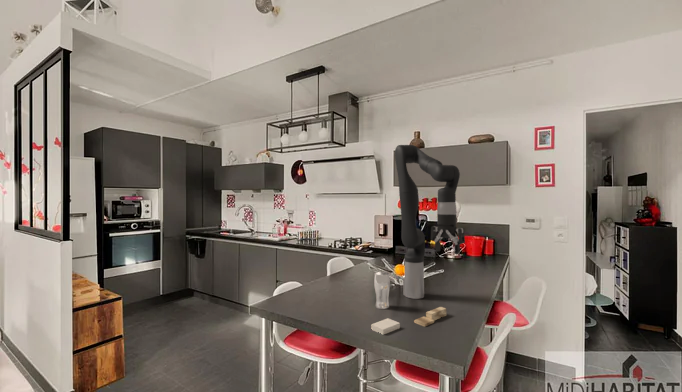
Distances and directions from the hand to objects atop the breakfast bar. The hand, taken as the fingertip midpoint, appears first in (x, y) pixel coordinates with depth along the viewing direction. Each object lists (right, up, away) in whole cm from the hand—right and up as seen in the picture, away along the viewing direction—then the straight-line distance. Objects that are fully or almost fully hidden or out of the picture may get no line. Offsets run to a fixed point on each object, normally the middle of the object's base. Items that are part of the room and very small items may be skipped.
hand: (447, 252), depth 128 cm
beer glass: (-25, -27, +11) cm, 38 cm away
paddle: (-8, -26, -4) cm, 27 cm away
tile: (-24, -25, -10) cm, 36 cm away
